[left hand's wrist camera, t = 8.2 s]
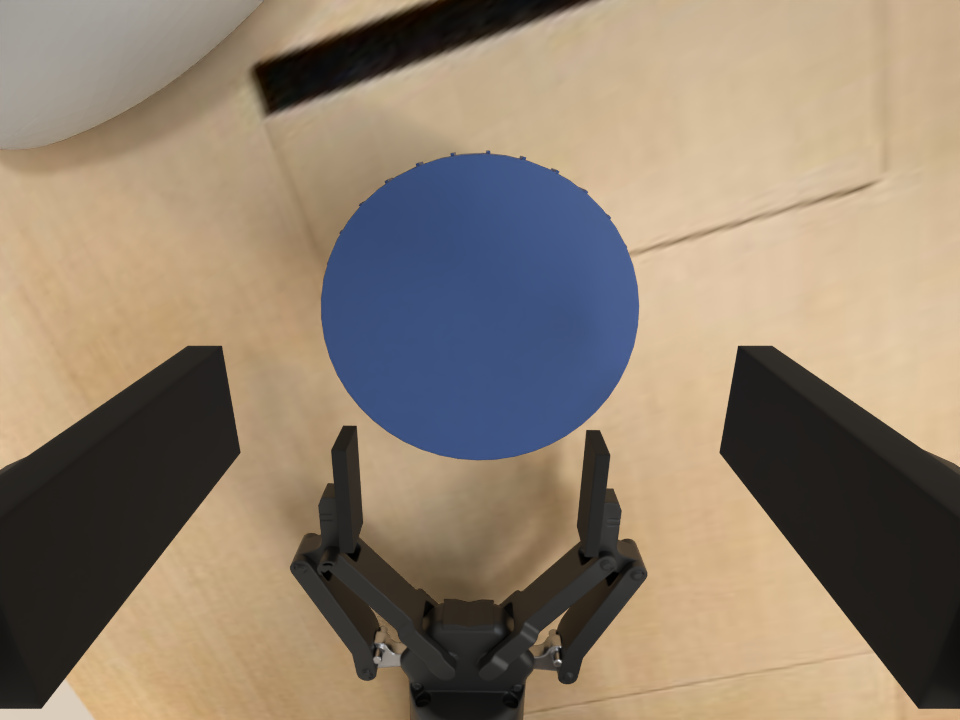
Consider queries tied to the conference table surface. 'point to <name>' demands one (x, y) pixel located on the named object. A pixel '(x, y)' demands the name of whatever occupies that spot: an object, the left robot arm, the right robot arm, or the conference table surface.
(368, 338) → the lid
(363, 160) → the conference table surface
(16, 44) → the projector
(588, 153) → the conference table surface
